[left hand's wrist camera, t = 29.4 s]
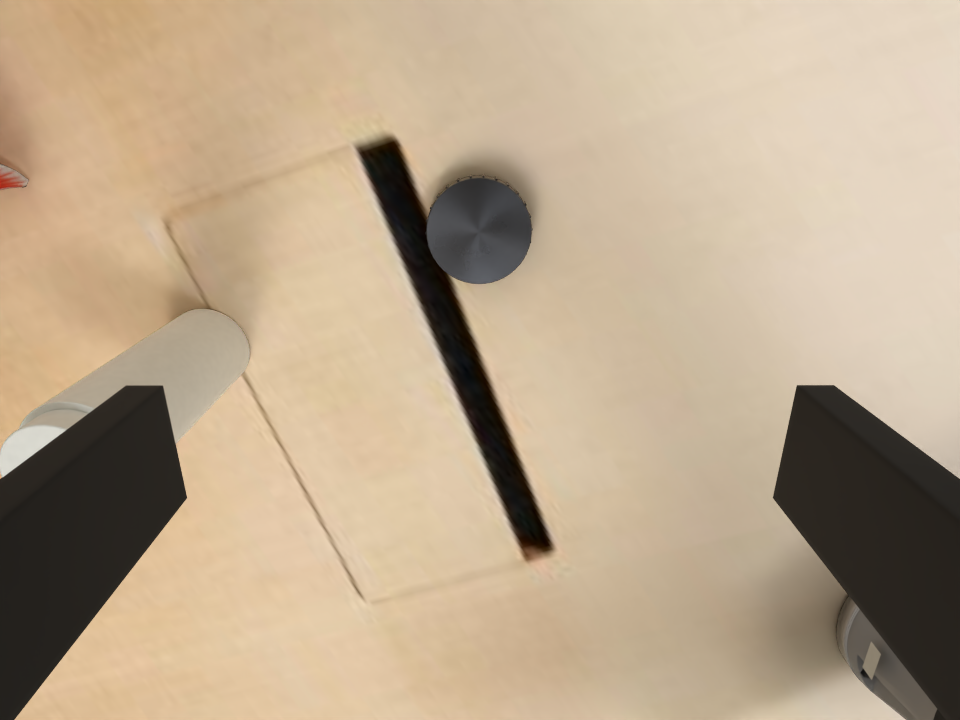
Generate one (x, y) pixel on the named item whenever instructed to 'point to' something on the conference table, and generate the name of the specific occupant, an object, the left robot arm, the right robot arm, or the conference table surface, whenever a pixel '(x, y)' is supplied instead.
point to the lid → (479, 229)
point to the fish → (11, 178)
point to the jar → (146, 380)
